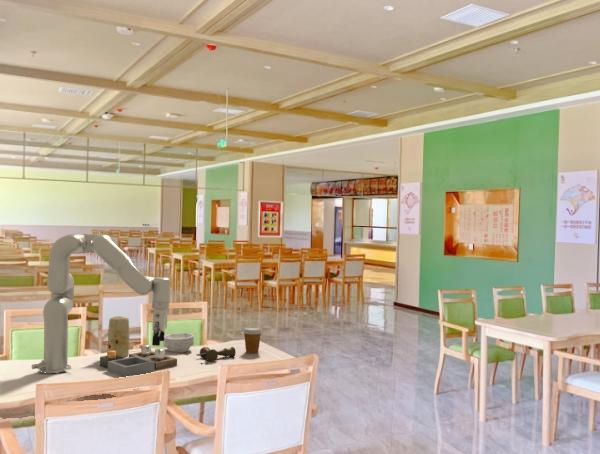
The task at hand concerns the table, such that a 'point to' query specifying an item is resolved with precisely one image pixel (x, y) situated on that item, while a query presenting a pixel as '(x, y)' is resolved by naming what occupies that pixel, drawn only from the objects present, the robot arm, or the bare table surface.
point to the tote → (131, 366)
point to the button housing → (105, 360)
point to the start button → (111, 354)
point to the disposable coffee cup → (252, 339)
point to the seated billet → (145, 350)
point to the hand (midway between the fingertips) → (158, 343)
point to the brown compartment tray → (158, 364)
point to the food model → (119, 335)
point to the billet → (159, 354)
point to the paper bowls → (178, 342)
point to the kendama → (216, 353)
